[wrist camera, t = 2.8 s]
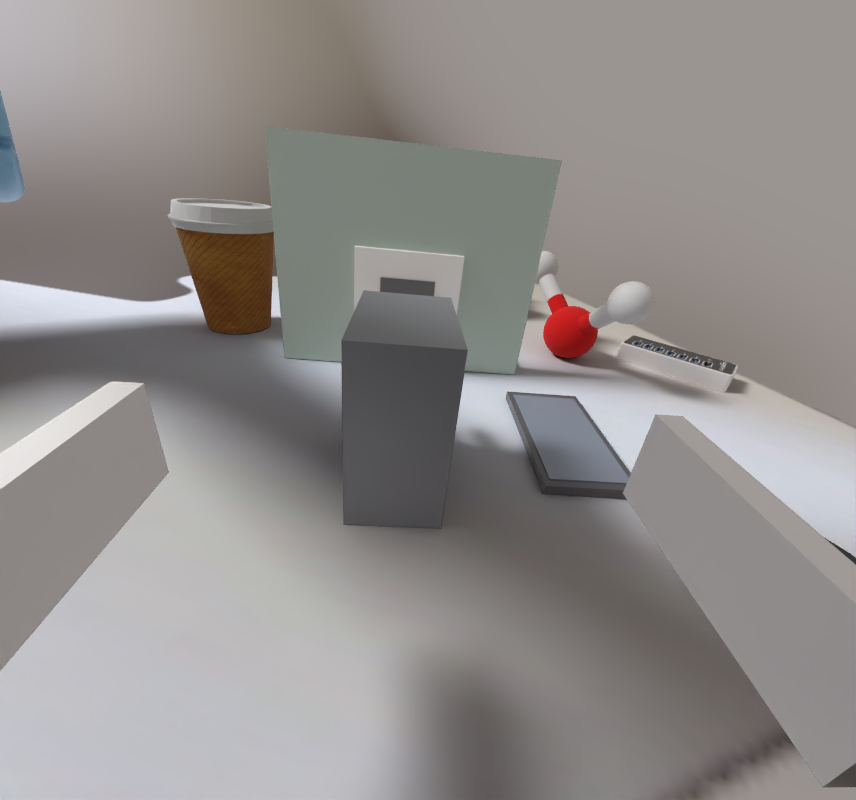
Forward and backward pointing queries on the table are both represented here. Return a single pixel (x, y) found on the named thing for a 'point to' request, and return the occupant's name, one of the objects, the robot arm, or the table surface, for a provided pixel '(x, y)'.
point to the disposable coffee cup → (228, 260)
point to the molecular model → (577, 327)
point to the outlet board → (405, 236)
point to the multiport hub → (677, 363)
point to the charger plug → (399, 408)
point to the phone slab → (567, 447)
